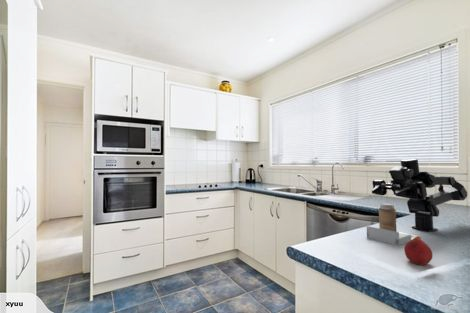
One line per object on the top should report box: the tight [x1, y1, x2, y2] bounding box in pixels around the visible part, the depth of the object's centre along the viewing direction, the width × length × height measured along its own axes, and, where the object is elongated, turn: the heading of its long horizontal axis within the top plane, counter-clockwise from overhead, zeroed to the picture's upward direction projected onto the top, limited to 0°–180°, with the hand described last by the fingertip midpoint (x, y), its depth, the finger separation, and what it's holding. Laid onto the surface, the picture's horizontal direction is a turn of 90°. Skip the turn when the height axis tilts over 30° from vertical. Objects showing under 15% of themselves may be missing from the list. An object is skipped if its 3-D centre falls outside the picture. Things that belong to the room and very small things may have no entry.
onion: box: [403, 235, 434, 266], centre depth 60 cm, size 6×6×8 cm
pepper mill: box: [378, 203, 398, 232], centre depth 80 cm, size 5×5×12 cm
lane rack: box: [366, 225, 417, 246], centre depth 82 cm, size 17×10×5 cm, turn 121°
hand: (383, 193), depth 86 cm, fingers open, 9 cm apart
